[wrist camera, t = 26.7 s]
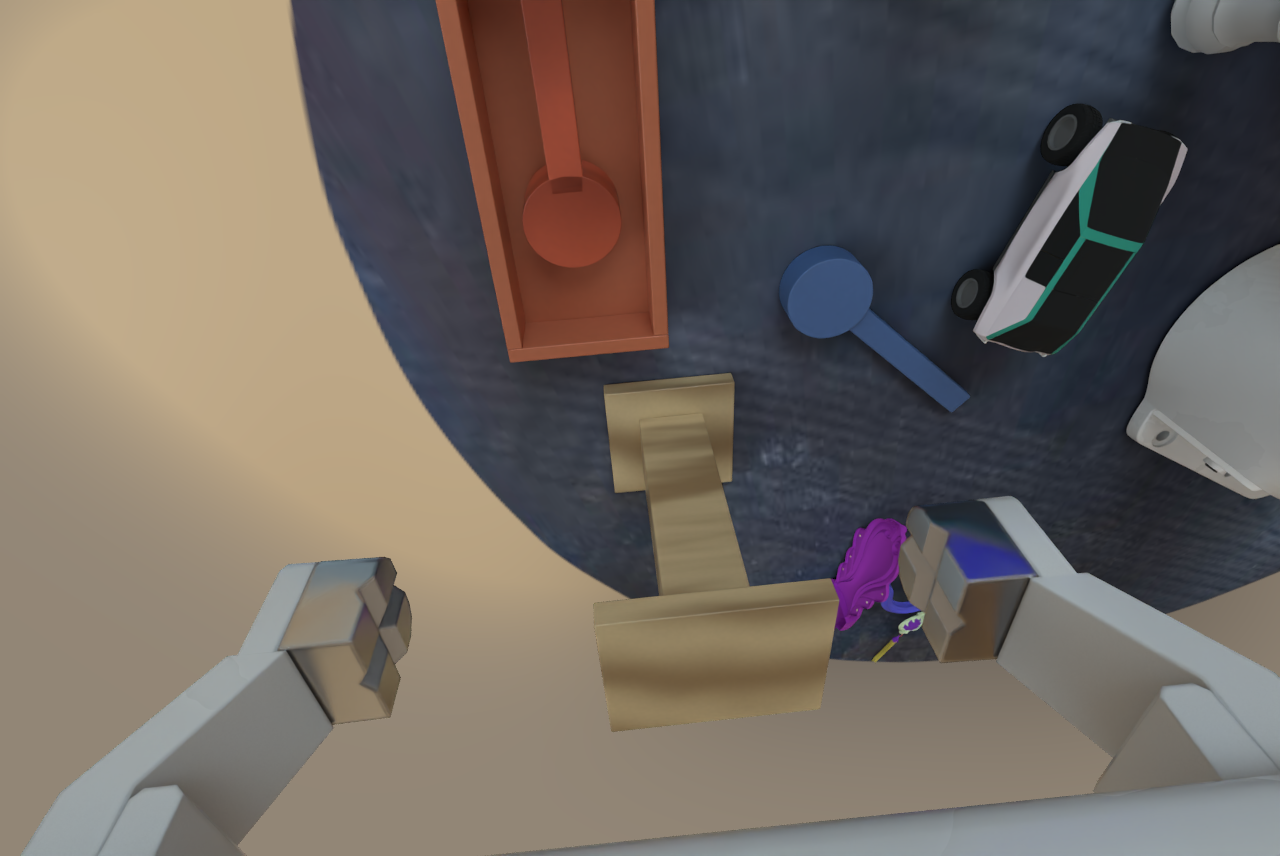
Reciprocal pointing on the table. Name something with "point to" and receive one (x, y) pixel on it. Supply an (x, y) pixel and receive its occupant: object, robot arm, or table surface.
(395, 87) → the table surface
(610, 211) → the red spoon
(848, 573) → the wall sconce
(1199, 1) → the rook chess piece
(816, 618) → the spoon stand
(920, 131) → the table surface
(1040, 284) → the toy car
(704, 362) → the table surface
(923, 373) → the blue spoon
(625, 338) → the terracotta tray
